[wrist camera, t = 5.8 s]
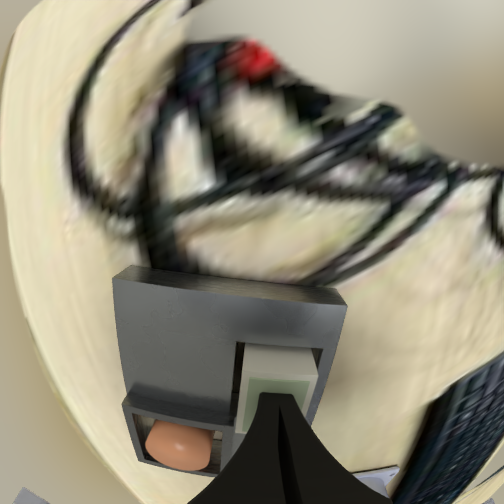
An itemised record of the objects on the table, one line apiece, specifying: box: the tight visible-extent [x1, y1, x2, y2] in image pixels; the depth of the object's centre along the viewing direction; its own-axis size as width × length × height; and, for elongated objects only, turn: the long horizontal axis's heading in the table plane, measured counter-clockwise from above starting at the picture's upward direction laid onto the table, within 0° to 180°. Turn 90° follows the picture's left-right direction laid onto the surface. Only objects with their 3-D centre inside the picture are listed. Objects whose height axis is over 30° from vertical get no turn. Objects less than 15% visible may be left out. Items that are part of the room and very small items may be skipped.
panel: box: [112, 265, 347, 477], centre depth 13 cm, size 14×10×3 cm
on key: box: [235, 342, 318, 434], centre depth 12 cm, size 4×3×3 cm
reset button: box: [145, 419, 215, 471], centre depth 13 cm, size 4×4×3 cm
